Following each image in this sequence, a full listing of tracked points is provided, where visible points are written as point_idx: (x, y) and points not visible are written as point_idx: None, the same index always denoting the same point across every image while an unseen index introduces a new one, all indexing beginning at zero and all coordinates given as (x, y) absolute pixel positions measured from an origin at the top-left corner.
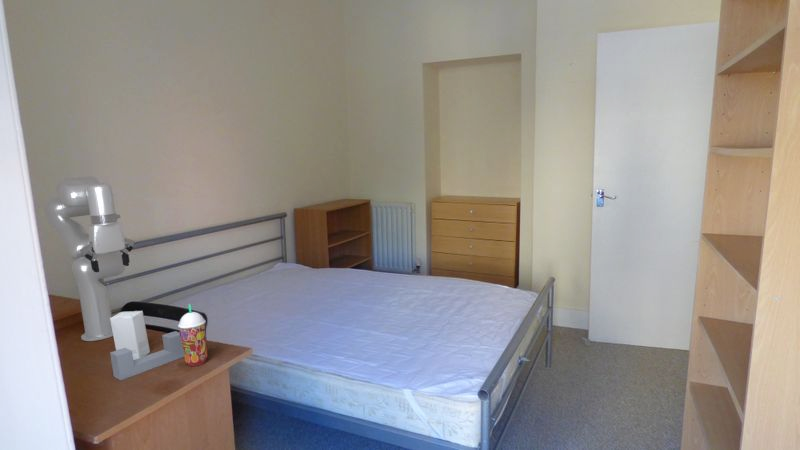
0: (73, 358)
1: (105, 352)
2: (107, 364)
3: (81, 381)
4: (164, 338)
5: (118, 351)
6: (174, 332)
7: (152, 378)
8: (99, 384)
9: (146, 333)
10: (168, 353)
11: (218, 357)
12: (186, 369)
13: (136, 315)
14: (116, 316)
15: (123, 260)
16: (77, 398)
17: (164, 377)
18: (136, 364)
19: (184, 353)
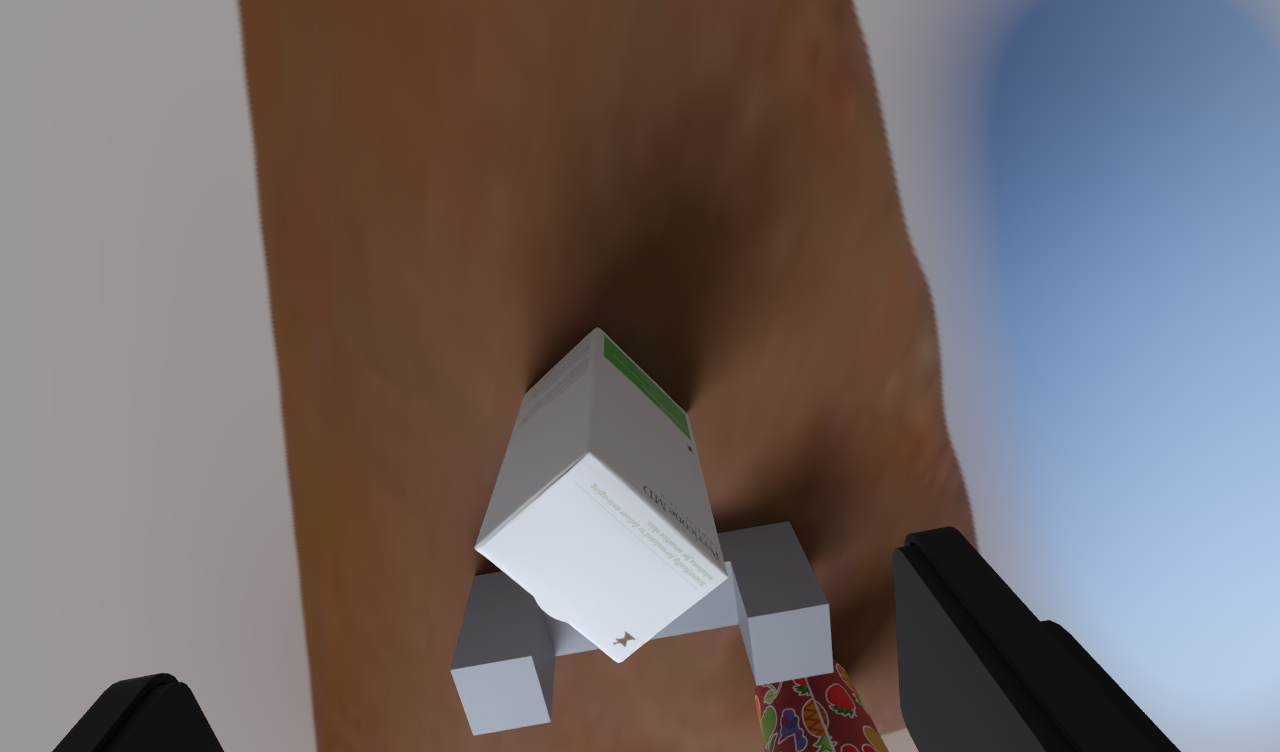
0: (290, 126)
1: (483, 186)
2: (468, 404)
3: (337, 526)
4: (746, 627)
5: (491, 685)
6: (815, 623)
7: (604, 696)
8: (409, 611)
9: (701, 475)
10: (724, 625)
11: (882, 684)
12: (736, 705)
13: (659, 629)
14: (526, 556)
15: (967, 708)
16: (321, 677)
17: (644, 716)
18: (568, 647)
19: (762, 732)
